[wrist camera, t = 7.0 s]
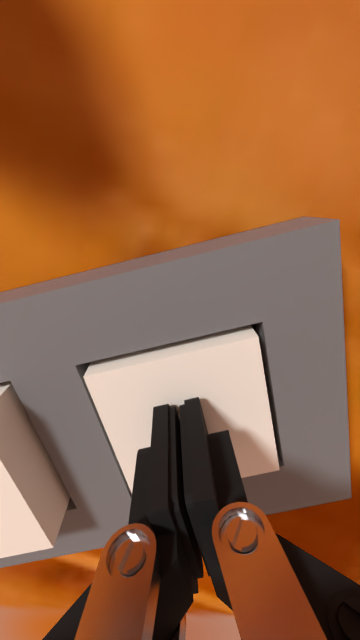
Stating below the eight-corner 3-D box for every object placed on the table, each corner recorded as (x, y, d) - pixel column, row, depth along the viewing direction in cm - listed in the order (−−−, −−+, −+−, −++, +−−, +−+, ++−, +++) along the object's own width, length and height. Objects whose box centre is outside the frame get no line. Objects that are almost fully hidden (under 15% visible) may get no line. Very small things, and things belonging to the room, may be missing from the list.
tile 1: (241, 312, 12) (260, 339, 10) (262, 428, 14) (281, 474, 12) (99, 345, 12) (81, 380, 10) (139, 454, 14) (133, 504, 12)
